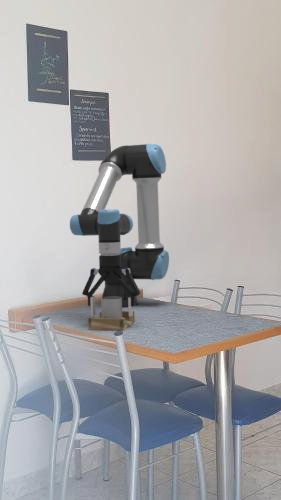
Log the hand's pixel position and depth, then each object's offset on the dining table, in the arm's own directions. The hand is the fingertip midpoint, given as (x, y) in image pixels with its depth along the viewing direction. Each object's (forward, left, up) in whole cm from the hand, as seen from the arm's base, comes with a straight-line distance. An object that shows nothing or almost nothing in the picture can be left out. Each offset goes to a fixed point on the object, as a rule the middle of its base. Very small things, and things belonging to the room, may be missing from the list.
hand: (111, 315), depth 224 cm
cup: (0, -1, -3) cm, 3 cm away
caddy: (0, 0, -4) cm, 4 cm away
